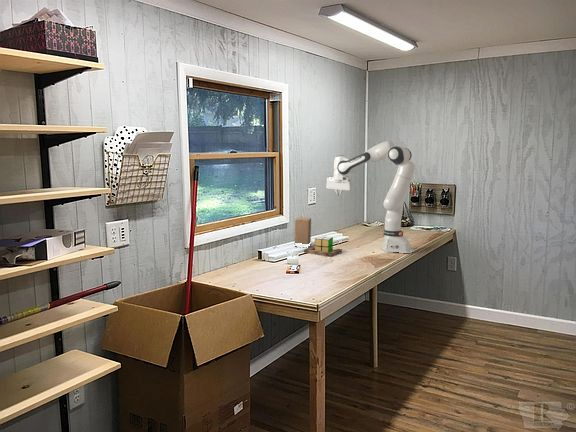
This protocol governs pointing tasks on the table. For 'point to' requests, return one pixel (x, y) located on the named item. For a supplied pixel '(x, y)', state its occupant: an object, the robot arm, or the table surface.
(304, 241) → the wooden block
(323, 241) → the puzzle cube
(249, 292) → the table surface
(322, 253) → the walnut bay
